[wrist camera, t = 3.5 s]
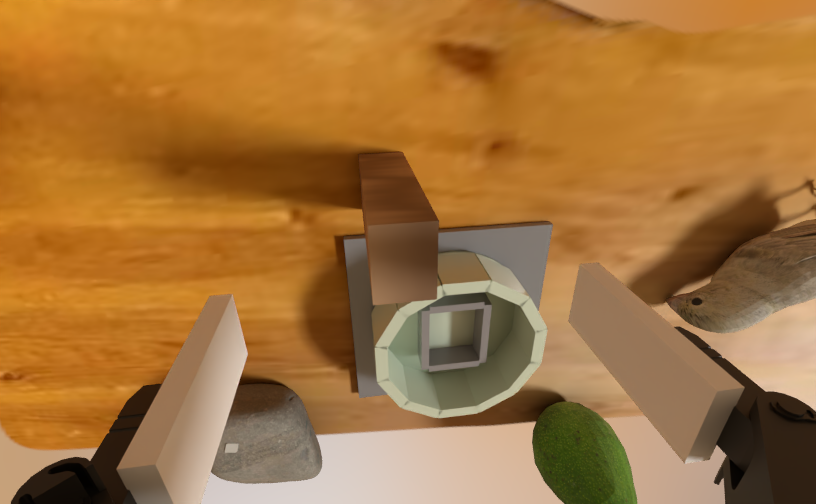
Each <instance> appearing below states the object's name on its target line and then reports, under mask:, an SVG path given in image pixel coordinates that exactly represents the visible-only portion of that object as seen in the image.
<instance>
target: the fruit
mask: <svg viewBox="0 0 816 504" xmlns="http://www.w3.org/2000/svg"><path fill="white" fill-rule="evenodd" d="M532 444H533V451H534V459H535V464H536V466H537V468H538V470H539V471H540V473H541V475H542V477H543V479H544V481H545V483H546V484H547V485H548V486H549V487H550V489H551V490H552V491H553V492H554V493H555V495H556V496H557V497H558V498H559V499H560V500H561V501H562V502H563V503H564V504H637V497H636V492H635V488H634V483H633V478H632V472H631V467H630V464H629V461H628V458H627V455H626V452H625V449H624V447H623V446H622V444H621V442H620V441H619V439H618V437H617V436H616V434H615V432H614V431H613V429H612V428H611V426H610V425H609V424H608V423H607V422H606V421H605V420H604V419H603V418H602V417H600V416H599V415H598V414H597V413H596V412H594V411H592V410H590V409H588V408H586V407H585V406H583V405H581V404H579V403H574V402H567V401H565V402H558V403H554V404H552V405H550V406H548V407H547V408H546V409H545V410H544V411H543V412H542V413H541V414H540V416H539V418H538V420H537V422H536V424H535V427H534V430H533V440H532Z"/></svg>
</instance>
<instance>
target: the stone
mask: <svg viewBox="0 0 816 504" xmlns="http://www.w3.org/2000/svg"><path fill="white" fill-rule="evenodd" d="M321 468H322V456H321V450H320V446H319V443H318V440H317V438H316V435H315V432H314V430H313V427H312V425H311V422H310V420H309V418H308V415H307V412H306V409H305V407H304V404H303V402H302V400H301V399H300V397H299V396H298V395H297V394H296V393H295V392H294V391H293V390H291V389H289V388H288V387H284V386H281V385H275V384H244V385H239V386H238V387H237V390H236V393H235V396H234V400H233V403H232V406H231V409H230V412H229V415H228V419H227V422H226V425H225V428H224V431H223V434H222V438H221V441H220V444H219V447H218V450H217V454H216V457H215V460H214V463H213V466H212V469H211V472H212V473H213V474H214V475H216V476H217V477H219V478H221V479H224V480H227V481H233V482H239V483H253V484H256V483H278V482H287V481H301V480H307V479H311V478H314V477H316V476H317V475H318V474H319V472H320V470H321Z"/></svg>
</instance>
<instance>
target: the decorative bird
mask: <svg viewBox="0 0 816 504" xmlns="http://www.w3.org/2000/svg"><path fill="white" fill-rule="evenodd" d="M814 298H816V219H814V220H806V221H803V222H800V223H798V224H795V225H793V226H791V227H789V228H785V229H781V230H778V231H775V232H772V233H768V234H765V235H762V236H759V237H756V238H754V239H752V240H749V241H747V242H745V243H744V244H742V245H741V246H739V247H738V248H737V249H736V250H735V251H734V252H733V253H732V254H731V255H730V257H729V258H728V259H727V260H726V261H725V262H724V263H723V265H722V266H721V267H720V268H719V269H718V270H717V271H716V272H715V274H714V276H713V277H712V279H711V282H710V283H709V284H707V285H705V286H703V287H701V288H699V289H697V290H695V291H693V292H690V293H686V294H680V295H677V296H673V297H670V298H667V299H666V301H667V303H668V305H669V306H670V307H671V308H672V309H673V310H674V311H675V312H676V313H677V314H678V315H680V317H681V318H683V319H684V320H685V321H686V322H688V323H689V324H691V325H693V326H695V327H697V328H700V329H703V330H706V331H710V332H716V333H733V332H737V331H740V330H744V329H746V328H749V327H751V326H753V325H755V324H757V323H758V322H760V321H762V320H764V319H765V318H767V317H768V316H770V315H771V314H773V313H775V312H777V311H779V310H782V309H784V308H786V307H788V306H792V305H796V304H799V303H803V302H806V301H809V300H812V299H814Z"/></svg>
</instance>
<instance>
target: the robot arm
mask: <svg viewBox="0 0 816 504" xmlns="http://www.w3.org/2000/svg"><path fill="white" fill-rule="evenodd" d="M568 321H569V323H570V324H571V325H572V326H573V328H574V329H575V330H576V331H577V332H578V334H579V335H580V336H581V337H582V339H583V340H584V341H585V342H586V343H587V345H588V346H589V347H590V348H591V350H592V351H593V352H594V353H595V355H596V356H597V357H598V358H599V359H600V361H601V362H602V363H603V364H604V366H605V367H606V368H607V369H608V370H609V372H610V373H611V374H612V375H613V377H614V378H615V379H616V380H617V381H618V383H619V384H620V385H621V386H622V388H623V389H624V390H625V391H626V393H627V394H628V395H629V396H630V397H631V399H632V400H633V401H634V402H635V404H636V405H637V406H638V407H639V408H640V410H641V411H642V412H643V413H644V415H645V416H646V417H647V418H648V419H649V421H650V422H651V423H652V424H653V426H654V427H655V428H656V429H657V431H658V432H659V433H660V434H661V435H662V437H663V438H664V439H665V440H666V442H667V443H668V444H669V445H670V446H671V447H672V449H673V450H674V451H675V453H676V454H677V455H678V456H679V457H680V459H681V460H682V461H683V462H684V463H692V462H698V461H705V460H709V459H710V457H711V455H712V453H713V451H714V449H715V447H716V445H718V446H719V447H720V449H721V450H722V451H723V452H725V454H726V455H727V456H726V458H725V460H724V462H723V463H722V465H721V467H720V469H719V471H718V473H717V475H716V477H715V481H714V483H715V484H718V485H719V483H720V481H721V479H723V478H724V488H725V504H816V411H814V410H813V409H812V408H811V407H810V406H808V405H807V404H805V403H803V402H802V401H800V400H798V399H796V398H794V397H791V396H789V395H786V394H782V393H778V392H765V391H764V390H763V389H762V388H760V387H759V386H758V385H757V384H756V383H754V382H753V381H752V380H751V379H749V378H748V377H747V376H746V375H745V374H743V373H742V372H741V371H740V370H738V369H737V368H736V367H735V366H734V365H732V364H731V363H730V362H729V361H727V360H726V359H725V358H722V356H721V355H720V354H719V353H718V352H716V351H715V350H714V349H711V347H710V346H709V345H708V344H707V343H705V342H704V341H703V340H702V339H701V338H699V337H698V336H697V335H695V334H693V333H691V332H689V331H687V330H685V329H683V328H681V327H673V326H672V325H671V324H670V323H668V322H667V321H666V320H665V319H664V318H662V317H661V316H660V315H659V314H658V313H657V312H655V311H654V310H653V309H652V308H651V307H650V306H648V305H647V304H646V303H645V302H644V301H642V300H641V299H640V298H639V297H638V296H637V295H635V294H634V293H633V292H632V291H631V290H630V289H628V288H627V287H626V286H625V285H624V284H623V283H621V282H620V281H619V280H618V279H617V278H615V277H614V276H613V275H612V274H611V273H610V272H608V271H607V270H606V269H605V268H604V267H603V266H601V265H600V264H599V263H588V264H580V266H579V271H578V276H577V281H576V285H575V290H574V295H573V300H572V305H571V310H570V315H569V320H568ZM247 355H248V353H247V349H246V345H245V341H244V337H243V333H242V329H241V325H240V321H239V318H238V314H237V310H236V306H235V302H234V298H233V294H227V295H216V296H210V297H209V299H208V301H207V302H206V304H205V306H204V308H203V310H202V312H201V314H200V315H199V317H198V319H197V321H196V323H195V325H194V327H193V328H192V330H191V332H190V334H189V336H188V338H187V339H186V341H185V343H184V345H183V347H182V349H181V351H180V352H179V354H178V356H177V358H176V360H175V362H174V364H173V365H172V367H171V369H170V371H169V373H168V375H167V377H166V378H165V380H164V382H163V384H155V385H146V386H143V387H142V388H141V389H140V390H139V391H137V392H136V393H135V394H134V395H133V396H132V397H131V398H130V399H129V400H128V401H127V402H126V404H125V405H124V407H123V409H122V410H121V412H120V414H119V415H118V419H117V420H115V422H114V423H113V425H112V427H111V428H110V430H109V431H110V432H109V433H108V434H107V435H106V436H105V438H104V440H103V441H102V443H101V445H100V446H99V448H98V449H97V451H96V453H95V454H94V456H93V458H92V459H91V461H89V460H88V459H86V458H80V457H73V458H68V459H64V460H60V461H58V462H56V463H54V464H51V465H49V466H47V467H45V468H44V469H42V470H41V471H39V472H38V473H36V474H35V475H33V476H32V477H31V478H30V479H29V480H28V481H27V482H26V483H25V484H24V485H22V486H21V488H20V489H19V490H18V491H17V493H16V495H15V496H14V498H13V500H12V501H11V504H201V501H202V498H203V494H204V492H205V488H206V485H207V482H208V479H209V476H210V472H211V469H212V466H213V463H214V460H215V457H216V454H217V450H218V447H219V444H220V441H221V438H222V434H223V431H224V428H225V425H226V422H227V419H228V415H229V412H230V409H231V406H232V403H233V400H234V396H235V393H236V390H237V387H238V384H239V380H240V377H241V374H242V371H243V368H244V365H245V361H246V358H247Z"/></svg>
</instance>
